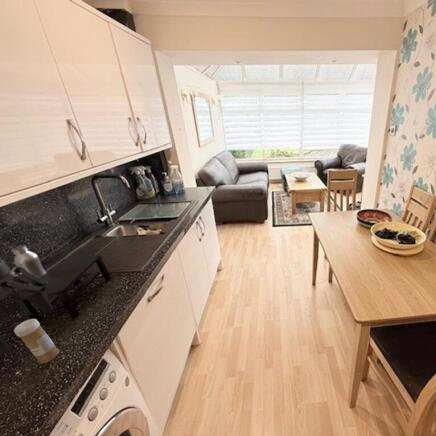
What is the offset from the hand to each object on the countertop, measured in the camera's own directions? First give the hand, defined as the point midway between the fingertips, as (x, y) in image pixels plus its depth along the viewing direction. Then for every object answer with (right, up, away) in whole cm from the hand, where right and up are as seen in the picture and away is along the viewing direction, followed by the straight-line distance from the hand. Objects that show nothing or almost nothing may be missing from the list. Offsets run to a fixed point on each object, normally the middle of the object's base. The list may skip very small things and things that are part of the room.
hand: (29, 329), depth 66 cm
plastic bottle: (-32, +1, +35) cm, 47 cm away
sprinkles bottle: (+1, -11, +5) cm, 12 cm away
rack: (-12, -1, +28) cm, 30 cm away
